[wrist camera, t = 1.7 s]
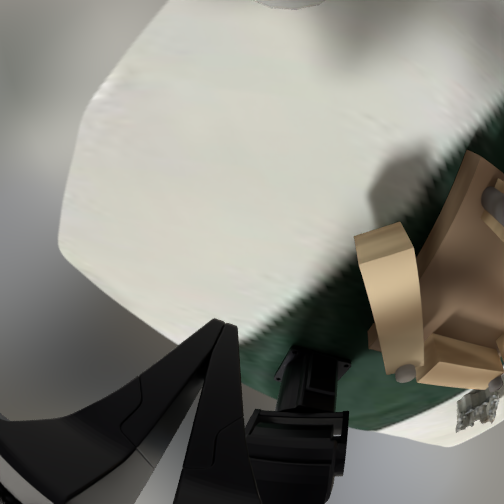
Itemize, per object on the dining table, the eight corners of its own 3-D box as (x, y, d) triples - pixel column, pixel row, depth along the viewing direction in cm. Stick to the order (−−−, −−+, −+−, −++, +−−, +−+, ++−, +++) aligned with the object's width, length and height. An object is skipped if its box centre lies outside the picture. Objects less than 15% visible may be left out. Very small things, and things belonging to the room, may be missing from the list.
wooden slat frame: (480, 358, 20) (492, 398, 16) (367, 331, 22) (370, 386, 17) (566, 237, 11) (596, 271, 6) (466, 149, 12) (516, 175, 7)
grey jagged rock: (489, 404, 25) (493, 423, 22) (452, 419, 29) (455, 439, 25) (499, 377, 22) (505, 400, 18) (455, 396, 25) (459, 420, 22)
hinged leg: (417, 341, 18) (424, 377, 15) (384, 350, 20) (387, 386, 17) (400, 221, 14) (416, 254, 11) (353, 236, 15) (359, 271, 12)
